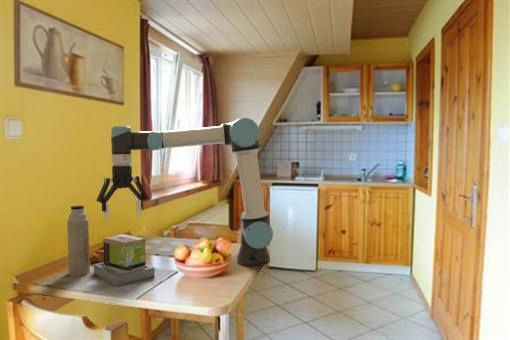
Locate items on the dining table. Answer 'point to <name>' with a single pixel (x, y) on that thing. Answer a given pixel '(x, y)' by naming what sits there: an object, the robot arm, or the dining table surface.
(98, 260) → the croissant
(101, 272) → the tray
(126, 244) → the tea box
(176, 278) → the dining table surface
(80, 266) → the thermos bottle
